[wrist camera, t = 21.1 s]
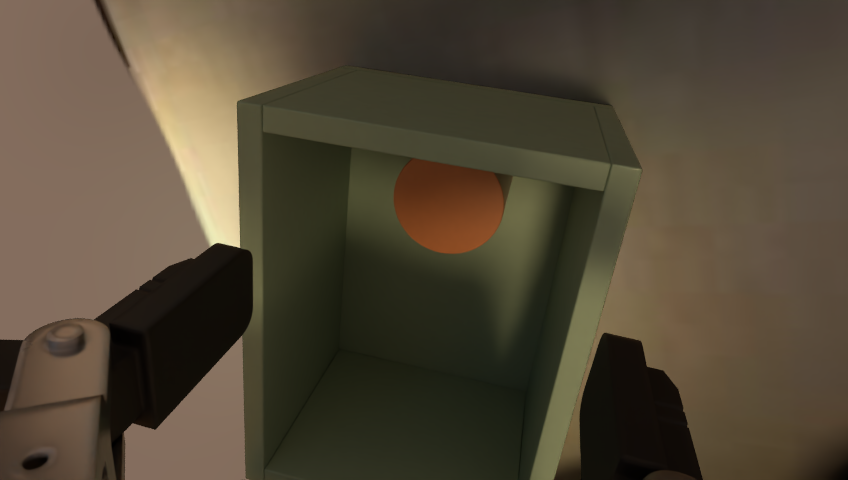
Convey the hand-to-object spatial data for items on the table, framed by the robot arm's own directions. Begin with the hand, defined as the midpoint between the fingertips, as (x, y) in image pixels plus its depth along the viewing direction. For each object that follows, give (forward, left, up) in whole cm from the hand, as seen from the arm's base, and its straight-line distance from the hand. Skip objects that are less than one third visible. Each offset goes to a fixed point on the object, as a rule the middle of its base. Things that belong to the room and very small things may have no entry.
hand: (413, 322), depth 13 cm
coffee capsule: (+1, -1, -16) cm, 16 cm away
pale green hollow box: (+6, -1, -17) cm, 18 cm away
